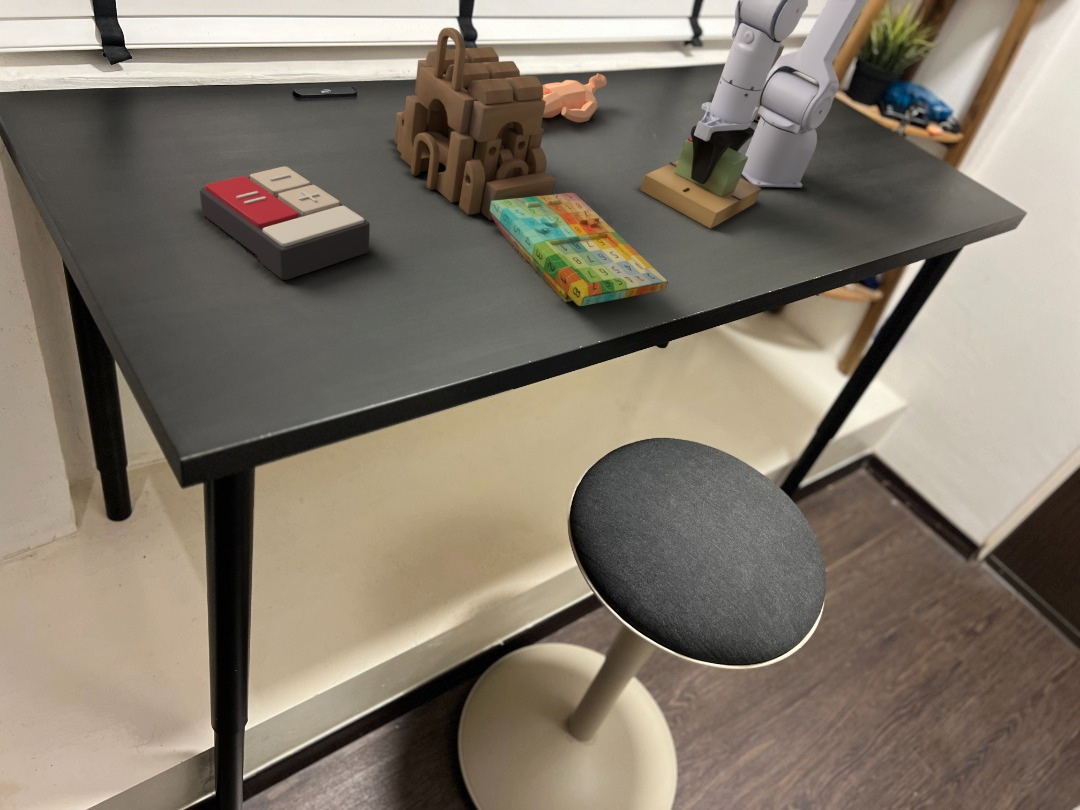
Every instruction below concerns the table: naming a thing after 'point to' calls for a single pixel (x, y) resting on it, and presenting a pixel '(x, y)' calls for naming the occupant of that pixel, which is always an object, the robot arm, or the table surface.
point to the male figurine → (572, 98)
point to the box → (722, 174)
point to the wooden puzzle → (474, 127)
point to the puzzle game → (574, 249)
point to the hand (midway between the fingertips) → (706, 176)
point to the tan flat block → (698, 196)
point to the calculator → (285, 221)
